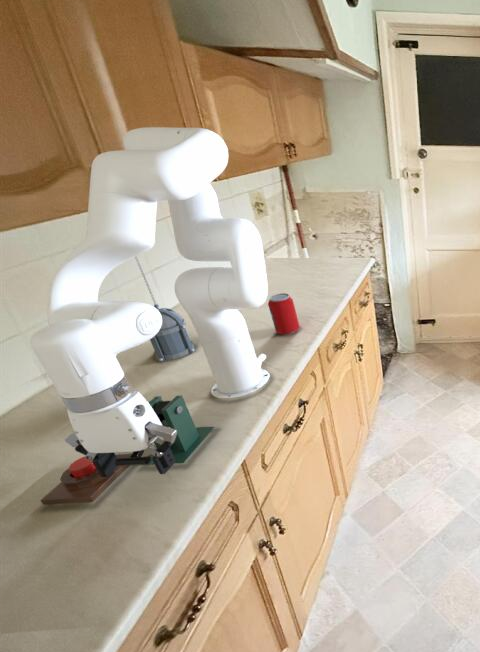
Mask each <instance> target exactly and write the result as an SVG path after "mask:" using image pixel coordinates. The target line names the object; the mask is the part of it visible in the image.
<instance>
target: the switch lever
mask: <svg viewBox="0 0 480 652" xmlns="http://www.w3.org/2000/svg"><path fill="white" fill-rule="evenodd" d="M170 401H171V400H163V401H158V403H157V404H156V406H155V408H154V409H153V410H154V412H155V413H156V415H157V417H158V418H159V420H160V422H161V423H162V421H163V420H165V418H164V416H163V414H162V412H161V410H162V409H163V408H164V407H165V406H166V405H167V404H168V403H169V402H170ZM150 439H151V438H149V437H148V441H149V440H150ZM144 453H145V451H144V450H141V451H132V453H131V454H132V455H131V456H130V457H126V458H118V459H116V461H115V465H116V466H123V465H129V466H139V465H140V466H145V465H144V464H149V463H150V461H151V457H149V456H150V455H148V456H143V455H144Z"/></svg>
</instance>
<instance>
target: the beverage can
mask: <svg viewBox="0 0 480 652" xmlns="http://www.w3.org/2000/svg"><path fill="white" fill-rule="evenodd" d="M267 305H268V309H269V313H270V316H271V319H272V320H271V321H272V323H273V327H274V329H275V330H274V331H275V333H276V334H279V335H283V336H285V335H291V334H293V333H295V332H297V331H298V330H299V329H300V322H299V319H298V315H297V310H296V306H295V304H294V300H293V298H292V297H291V296H290V294H289V293H285V292H283V293H276V294H273V295H271V296H270V297H269V298H268V302H267Z"/></svg>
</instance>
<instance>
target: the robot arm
mask: <svg viewBox="0 0 480 652" xmlns="http://www.w3.org/2000/svg"><path fill="white" fill-rule="evenodd" d="M122 143H123V147H124V149H118V150H108V151H105V152H102V153H99V154H98V155H97V156H95V158H94V159H93V160H92V163H91V166H90V179H89V191H88V192H89V193H88V205H87V206H88V207H87V218H86V219H87V220H86V222H87V223H86V231H85V237H83V240H82V241H81V242H80V243H79V244H78V245H77V246H76V247H75V248H74V249H73V250H72V251H71V252H70V253H69V254H68V256H67V257H66V258H65V259H64V260H63V262H62V263H61V264H60V266H59V267H58V269H57V270H56V271H55V273H54V275H53V277H52V279H51V281H50V284H49V289H48V296H47V297H48V299H47V310H46V311H47V313H46V316H47V324H48V325H47V326H44V327H42V328H40V329H38V330H37V331H36V332H34V333H33V334H31V337H30V339H29V345H30V347H31V349H32V351H33V353H34V355H35V356H36V358H37V360H38V361H39V363H40V365H41V366H42V368H43V369H44V371H45V373H46V374H47V376H48V378H49V380H50V381H51V383H52V384H53V386H54V388H55V389H56V391H57V393H58V394H59V396H60V398H61V400H62V401H63V403H64V405H65V406H66V413H67V416H68V420H69V422H70V425H71V427H72V430H73V431H74V432H71V434H69V435H68V436H67V437H65V438H64V442H65V443H67V444H68V445H70V447H72V448H74V450H75V452H77V453H80V454H82V455H83V456H84V457H85V456H86V457H85V458H86V459H87V460H89V461H92V460H93V461H92V462H93V464H94V466H95V467H96V469H97V470H98V472H99V474H100V475H101V477H107V476H108V475H109V474H111V473H112V472H113V471H114V470H115V469H116V468H117V467H118V466H116V465H115V461H116V459H117V457H116V455H117V454H116V453H131V452H132V453H133V452H134V451H141V450H144V452H146V453H147V454H149V455H150V454H152V455H154V457H153V459H152V460H153V462H154V464H153V465H154V466H155V468H156V469H157V471H158V473H159V474H160V475H166V474H167V472H168V471H169V470H170V469H171V468H172V467H173V466H174V465H175V464H176V463H175V462H176V459H175V457H174V455H173V453H172V451H171V449H170V447H171V445H172V444H173V443H174V442H175V441H176V435H177V430H175V429H172V428H169V427H165V426H162V424H161V422H160V420H159V418H158V417H157V415H156V413H155V412H154V410H153V409H152V407H151V406H150V404H149V403H148V402H149V401H148V400H147V399H146V397H144V396H143V394H141V393H140V391H138V390H136V387H135V386H134V385H132V384H131V383H130V382H129V380H128V378H127V376H126V374H125V372H124V370H123V368H122V366H121V364H120V362H119V360H118V358H117V356H118V355H119V354H121V353H123V352H125V351H128V350H130V349H132V348H135V347H138V346H140V345H142V344H145V343H147V342H148V341H150V339H151V338H153V337H154V336H155V335H156V334H157V333H158V332H159V330H160V328H161V326H162V316H161V314H160V312H159V311H158V310H157V309H156V308H155V307H154V305H152V304H149V303H147V302H141V301H136V300H135V301H132V300H128V301H127V300H125V301H124V300H123V301H121V300H117V301H115V300H111V301H110V300H108V301H107V300H105V301H102V300H101V301H100V300H99V301H98V299H99V291H100V288H101V286H102V283H103V282H104V280H105V278H106V277H107V276H108V275H109V274H110V273H111V272H112V271H114V269H116V268H117V267H118V266H121V264H124V263H126V262H128V261H129V260H132V259H133V258H134V259H135V257H136V256H137V257H138V256H140V255H142V254H144V253H146V252H149V251H150V250H152V248H153V247H154V246H155V245H156V229H157V227H156V226H157V212H158V211H157V210H158V201H167V203H168V207H169V212H170V218H171V222H172V228H173V229H172V230H173V236H174V239H175V241H174V242H175V244H176V248H177V251H178V252H179V254H180V255H181V256H182V257H183V258H184V259H186V260H189V261H194V262H230V265H231V267H230V266H229V267H227V266H226V267H223V266H222V267H221V266H216V267H215V266H211V267H210V266H208V267H195V268H190V269H187V270H184V271H183V272H182V273H180V274H179V275H178V276H177V278H176V279H175V281H174V294H175V297H176V298H177V300H178V301H177V302H179V304H180V305H181V306H182V308H183V310H184V311H185V312H186V314H187V315H188V317H189V319H190V320H191V323H192V325H193V327H194V329H195V332H196V335H197V337H198V340H199V342H200V345H201V347H202V350H203V353H204V355H205V358H206V361H207V363H208V366H209V368H210V372H211V373H212V377H213V380H214V381H215V383H214V384H213V386H212V387H211V389H210V394H211V395H212V396H213V397H215V398H217V399H235V398H239V397H243V396H246V395H249V394H251V393H253V392H255V391H257V390H259V389H260V388H262V387H263V386H264V385H265V384H267V382H268V381H269V379H270V376H271V375H270V373H269V371H268V370H266V369H263V368H262V364H263V362H264V361H265V360H266V359H267V355H266V354H264V353H259V354H258V355H257V354H256V351H255V347H254V344H253V341H252V339H251V335H250V333H249V329H248V324H247V323H246V320H245V317H244V316H243V314H242V313H241V311H239V310H254V309H258V308H261V306H263V305H264V304H265V303H266V300H267V298H268V292H269V285H268V276H267V275H268V274H267V270H266V269H267V268H266V260H265V253H264V252H265V251H264V245H263V240H262V237H261V234H260V231H259V230H258V228H257V227H256V226H255V225H254V224H253V223H252V222H251V221H249V220H248V219H245V218H241V217H223V216H222V215H221V210H220V205H219V200H218V199H219V198H218V195H217V193H216V191H215V190H214V188H213V186H212V185H211V183H212V181H214V180H216V178H218V177H219V176H220V175H221V174H222V173H223V172H224V171H225V169H226V167H227V166H228V164H229V163H228V162H229V149H228V146H227V145H226V143H225V140H224V139H222V137H221V136H220V135H219V134H218V133H216V132H214V130H213V131H212V130H210V129H208V128H203V127H165V126H148V127H146V126H145V127H139V128H137V127H136V128H134V129H131V130H128V131H126V133H124V135H123V140H122ZM148 437H149V438H151V439H150V440H149V441H148ZM154 441H155V442H156V443H158V444H160V445H161V446H160V447H159V448H158V449H157V448H156V446H155V445H152V444H154Z"/></svg>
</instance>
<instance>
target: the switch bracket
mask: <svg viewBox="0 0 480 652" xmlns="http://www.w3.org/2000/svg"><path fill="white" fill-rule="evenodd" d="M158 401H164V400H163V398H162V395H161V396H159V395H157V396H154V397H153V398H151V399H150V401H147V402H148V403H149V404H150V406H151V407H152V409H154V408H155V406H156V404H157V403H158ZM169 401H170V402H169V403H168V404H167V405H166V406H165V407H164V408H163V409H162V410H161V412H162V414H163V416H164V418H165V420H163V421H162V423H161V424H162V426H165V427H169V428H172V429H175V430H177V435H176V441H175V442H174V443H173V444H172V445H171V447H170V449H171V451H172V453H173V455H174V457H175V459H176V462H175V463H174V464H184V463H185V462H186V461H187V460H188V459H189V458H190V457H191V456H192V455H193V453H194V452H195V451H196V450H197V449H198V448H199V447H200V445H201V444H202V443H203V442H204V441H205V439H206V438H207V437H208V436H209V435H210V433H212V431H213V430H214V429H215V428H216V426H196V425H195V422H194V420H193V418H192V416H191V414H190V411H189V409H188V406H187V404H186V402H185V399H184V397H183V395H175V397H174V398H173V399H171V400H169ZM153 444H154V447H156V448H157V449H158V448H159V447H160V446H161V445H160V444H158V443H156V442H155V441H154V442H153ZM148 456H149V457H151V461H150V463H149V464H144V465H143V466H148V465H149V466H150V465H155V464H154V462H153V460H152V459H153V457H154V455H152V454H150V453H149V455H148Z"/></svg>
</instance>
